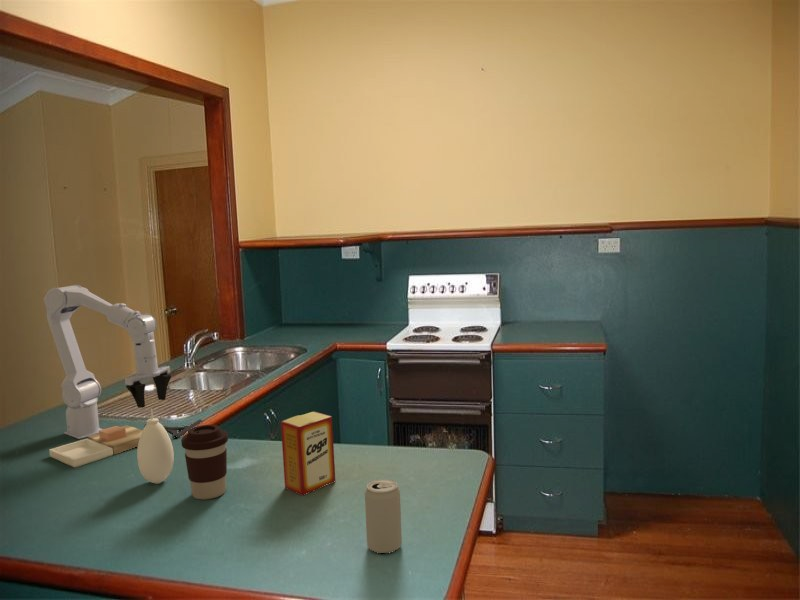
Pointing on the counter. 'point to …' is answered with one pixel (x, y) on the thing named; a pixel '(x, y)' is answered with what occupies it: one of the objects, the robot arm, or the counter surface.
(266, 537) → the counter surface
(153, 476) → the rubber air blower
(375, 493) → the beverage can
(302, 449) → the baking soda box
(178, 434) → the bracket
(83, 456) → the tray
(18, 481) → the counter surface
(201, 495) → the coffee cup
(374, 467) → the counter surface
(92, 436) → the large beige panel
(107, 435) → the tile
